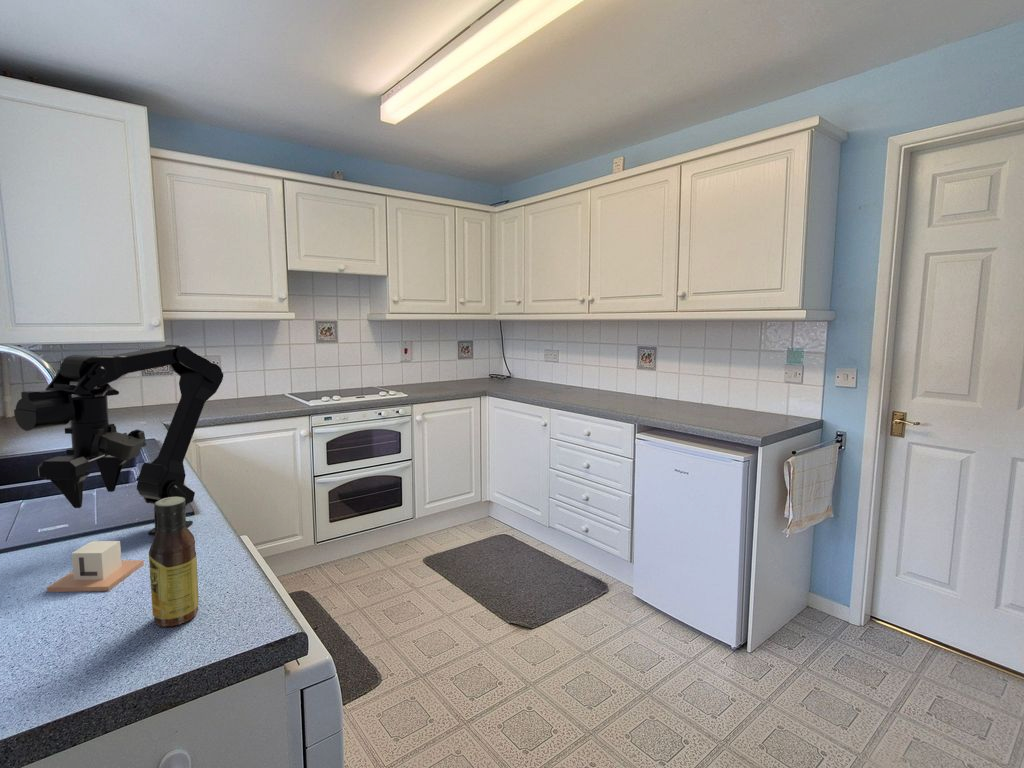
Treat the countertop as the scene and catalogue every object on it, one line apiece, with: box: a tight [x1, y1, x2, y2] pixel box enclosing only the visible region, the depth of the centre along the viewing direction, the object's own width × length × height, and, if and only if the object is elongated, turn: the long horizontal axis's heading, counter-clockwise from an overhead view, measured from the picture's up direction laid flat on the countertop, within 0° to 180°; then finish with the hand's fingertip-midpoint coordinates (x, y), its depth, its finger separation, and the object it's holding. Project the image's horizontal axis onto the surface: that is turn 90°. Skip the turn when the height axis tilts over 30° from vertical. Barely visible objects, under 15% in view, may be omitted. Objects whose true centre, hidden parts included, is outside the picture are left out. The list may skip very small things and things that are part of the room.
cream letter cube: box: [71, 540, 122, 580], centre depth 95 cm, size 5×5×5 cm
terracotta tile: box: [46, 559, 144, 593], centre depth 96 cm, size 10×10×1 cm
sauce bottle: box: [148, 497, 199, 628], centre depth 82 cm, size 6×6×20 cm
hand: (95, 499), depth 102 cm, fingers open, 9 cm apart
